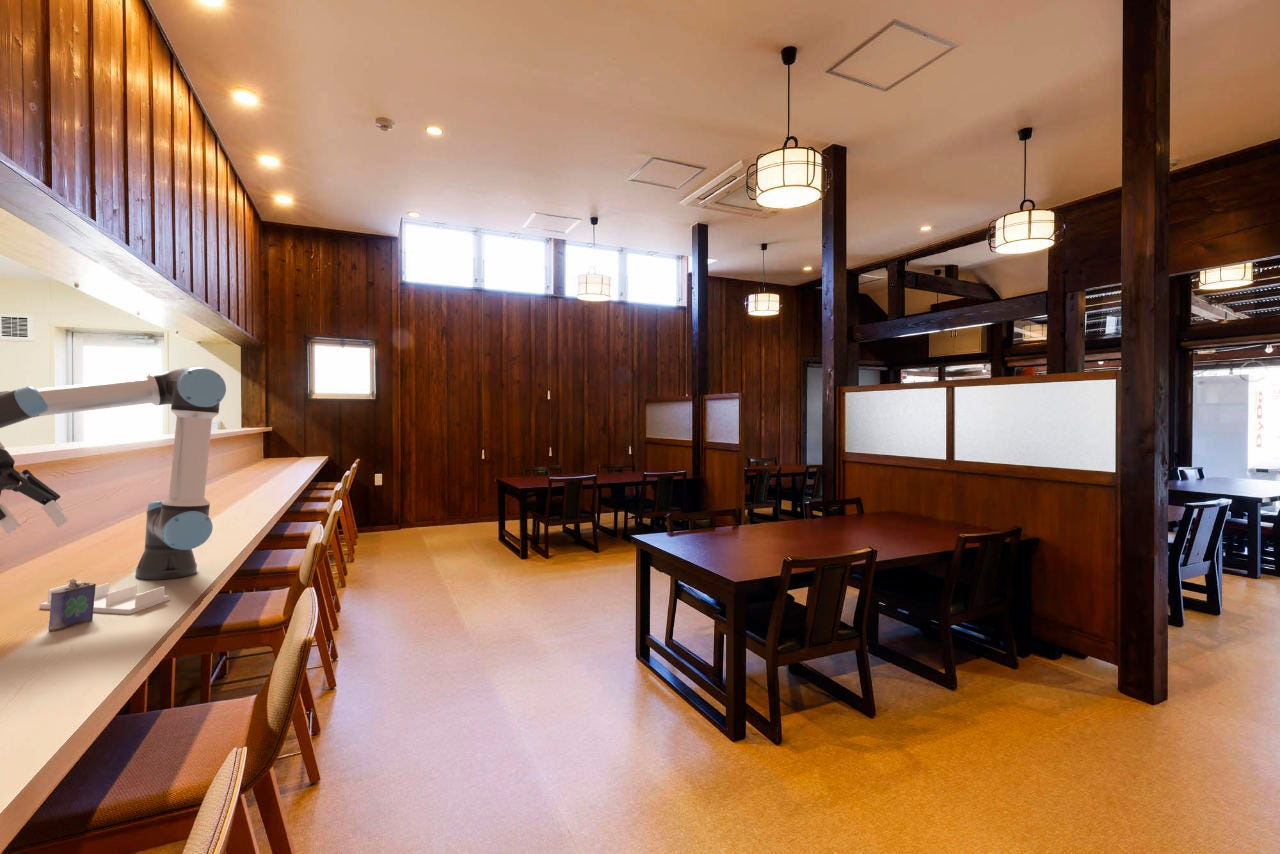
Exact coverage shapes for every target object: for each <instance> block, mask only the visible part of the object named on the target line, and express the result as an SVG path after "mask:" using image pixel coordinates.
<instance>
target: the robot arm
mask: <svg viewBox="0 0 1280 854" xmlns="http://www.w3.org/2000/svg"><path fill="white" fill-rule="evenodd" d="M226 392H227V385H226V382H225V380H224V378H223V377H222V376H221V375H220V373H217V372H216V371H215V370H213V369H210V368H208V367H202V366H191V367H181V368H177V369H174V370H170V371H164V372H159V373H151V374H148V375H146V377H142V378H132V379H131V378H130V379H124V380H123V379H122V380H114V381H113V380H110V381H103V382H101V381H100V382H93V383H91V382H89V383H80V384H72V385H62V386H61V385H60V386H50V387H41V388H36V387H34V386H32V385H31V386H29V385H28V386H25V387H21V388H16V389H14V390H11V391H10V390H4V391H0V429H3V428H5V427H9V426H11V425H14V424H17V423H20V422H23V421H26V420H29V419H32V418H33V419H34V418H37V417H45V416H50V415H51V416H53V415H61V414H70V413H77V412H85V411H94V410H101V409H102V410H104V409H111V408H119V407H128V406H135V405H144V404H153V405H155V406H162V405H163V406H164V405H171V407H170V411H171V412H172V413H173V414H174V415H175V416H176V419H175V420H176V421H175V432H174V439H173V440H174V441H173V453H172V462H171V472H170V481H169V482H170V483H169V493H168V497H167V498H165V499H164V500H162V501H161V500H159V501H158V500H157V501H151V502H149V503H148V505H147V508H146V509H147V510H146V524H145V538H144V541H145V542H144V551H143V553H142V555H141V557H140V560H139V562H138V564H137V566H136V568H135V577H136V578H137V579H141V580H170V579H176V578H184V577H188V576H191V575H194V574H195V573H197V571H198V569H197V568H198V564H197V562H196V557H195V556H194V552H193V549H196V548H198V547H200V546H201V545H203V544H204V543H206V542H207V541H208V540H209V538H210V537H211V535H212V533H213V530H214V529H213V522H212V520H211V518H210V507H211V506H210V505H211V503H210V501H209V500H208V499H207V498H206V497H205V496H206V495H205V494H206V483H207V473H208V463H209V455H210V445H211V443H210V442H211V433H212V423H213V419H214V418H215V417H217V416H218V415H219V414H220V413H219V411H220V403H221V402H222V400H223V399H224V398H225V395H226ZM5 448H6V447H5V446H4V445H3V444H2V442H1V441H0V496H1V495H2V491H4V490H7V491H11V490H12V491H13V492H14V493H15V492H16V493H17V492H19V493H21V494H22V495H24V496H25V497H28V498H30V499H31V500H34V501H35V502H37V503H39V504H41V505H43V506H41V508H42V509H43V511H44V512H45V513H46V514H47V516H48V517H49V518H50V519H51V521H52V522H53V523H54V525H56V527H57V528H61V527H63V526H65V525H66V524H67V523H69V522H70V521H71V520H70V518H69V517H68V516H67V514H65V512H64V511H63V509H62V508H61V507H60V505H59V504H58V502H57V500H59V499H61V495H60V494H58V493H57V492H56V491H54V490H53V489H52V488H50V487H49V486H48V485H46V484H45V483H44V482H43V481H41V480H40V479H38V478H37V477H36V476H34V474H33V473H31V472H30V470H28V469H24V470H23V471H21V472H19V471H17V470H16V469H15V468H14V466H15V459H14V458H13V457H12V455H11V454H10V453H9V452H8V450H6V449H5ZM0 526H1V528H2V529H3V530H4V531H5V533H6V534H7V535H8V534H12V533H13V532H14V531H16V530H17V529H18V528H20V527H22V525H21V524H20V523H19V521H18V520H17V519H16V518H15V516H14V515H13V514H12V513H11V511H10V510H9V509H8V506H6V505H5V503H0Z"/></svg>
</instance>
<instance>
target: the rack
mask: <svg viewBox="0 0 1280 854" xmlns="http://www.w3.org/2000/svg"><path fill="white" fill-rule="evenodd" d="M76 583H77V584H80V583H83V580H80V581H77V582H76ZM69 584H70V583H69ZM69 584H66V585H65V584H64V585H61V586H58V587H53V588H50V589H48V591H47V601H45V602H42V603H39V609H40V610H42V609H43V610H50V607H51V593H52V592H53V591H56V590H60V589H64V588H68V587H69V586H68V585H69ZM110 586H111V583H110V582H106V583H104V584H100V585H96V587H95V597H94V607H93V613H99V614H100V613H103V614H117V615H119V614H120V615H132V614H134V613H137V612H140V611H142V610H145V609H148V608H151V607H154V606H157V605H159V604H161V603H164V602H165V603H166V602H167V601H170V596H171V595H168V594H167V595H166V594H165V587H166V586H164V585H163V586H160V587H157V588H154V589H151V590H148V591H145V592H142V593H138V584H133V585H130V586H129V585H128V586H126V587H124V588H120V589H116V590H113V591H110V589H111V588H110Z"/></svg>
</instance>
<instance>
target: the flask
mask: <svg viewBox="0 0 1280 854" xmlns="http://www.w3.org/2000/svg"><path fill="white" fill-rule="evenodd" d="M76 582H78V580H76V579H74V578H72V579H68V580H67V583H69V585H68V584H67V585H68V586H69V587H68V588H64V589H60V590H56V591H53V592H52V593H51V607H50V609H49V622H48V631H49V632H56V631H62V630H65V629H68V628H69V629H70V628H74V627H77V625H81V624H86V623H88V622H92V621H93V617H94V612H93V607H94V597H95V587H96V586H97V584H96V583H94V582H84V581H83V582H82V583H80V584H77V583H76Z"/></svg>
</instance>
